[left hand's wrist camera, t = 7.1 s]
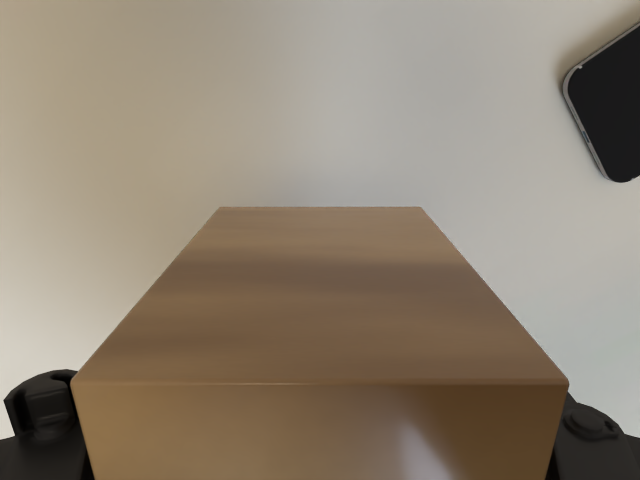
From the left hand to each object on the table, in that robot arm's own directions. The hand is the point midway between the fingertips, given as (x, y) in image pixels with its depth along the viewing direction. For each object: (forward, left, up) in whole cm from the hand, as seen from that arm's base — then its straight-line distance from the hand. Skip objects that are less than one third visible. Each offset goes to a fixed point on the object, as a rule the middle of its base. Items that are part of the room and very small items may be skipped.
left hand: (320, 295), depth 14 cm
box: (+4, +7, -1) cm, 8 cm away
